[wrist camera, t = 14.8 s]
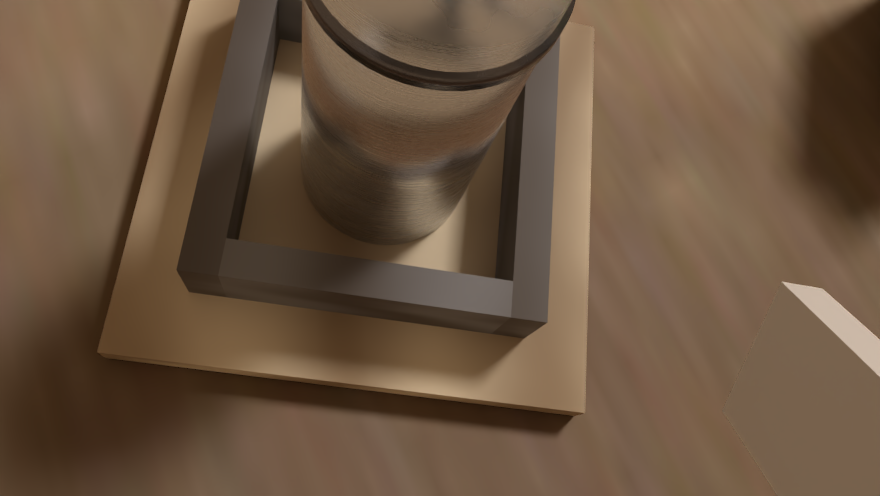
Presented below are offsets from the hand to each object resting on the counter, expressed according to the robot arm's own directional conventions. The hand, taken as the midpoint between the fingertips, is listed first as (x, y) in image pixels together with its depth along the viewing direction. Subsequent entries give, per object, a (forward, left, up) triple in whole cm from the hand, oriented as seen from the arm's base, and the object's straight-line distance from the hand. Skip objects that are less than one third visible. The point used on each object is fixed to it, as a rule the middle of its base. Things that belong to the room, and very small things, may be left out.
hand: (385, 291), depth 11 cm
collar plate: (0, -8, -13) cm, 16 cm away
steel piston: (0, -8, -12) cm, 15 cm away
